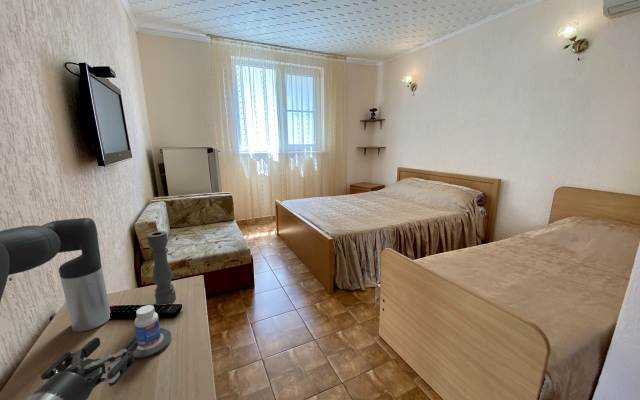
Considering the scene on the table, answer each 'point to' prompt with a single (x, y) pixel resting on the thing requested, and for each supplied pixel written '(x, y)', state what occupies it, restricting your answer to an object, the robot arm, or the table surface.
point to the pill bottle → (147, 326)
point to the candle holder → (161, 268)
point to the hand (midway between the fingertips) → (117, 340)
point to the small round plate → (156, 347)
